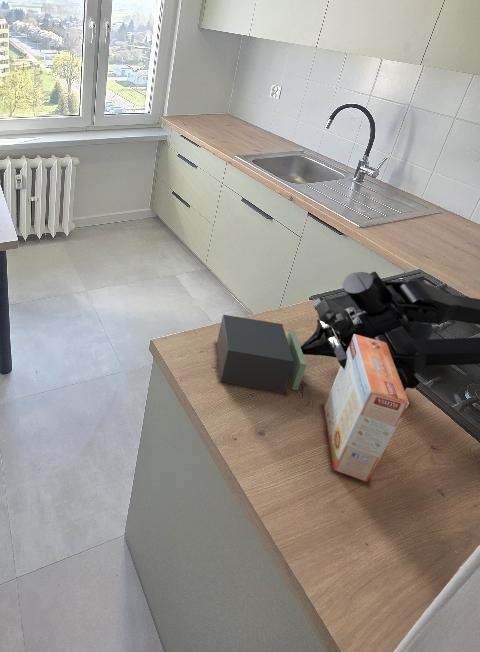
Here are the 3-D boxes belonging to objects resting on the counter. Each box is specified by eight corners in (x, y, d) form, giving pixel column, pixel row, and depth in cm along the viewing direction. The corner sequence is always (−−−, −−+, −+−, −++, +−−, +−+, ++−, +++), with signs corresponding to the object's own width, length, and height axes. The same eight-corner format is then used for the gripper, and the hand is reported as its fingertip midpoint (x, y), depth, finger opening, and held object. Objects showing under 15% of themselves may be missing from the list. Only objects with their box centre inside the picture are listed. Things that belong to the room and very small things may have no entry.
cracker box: (369, 484, 74) (411, 404, 66) (332, 471, 76) (368, 391, 67) (354, 416, 86) (388, 341, 78) (322, 406, 88) (352, 331, 79)
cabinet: (273, 353, 101) (282, 323, 97) (283, 392, 91) (294, 361, 87) (216, 343, 102) (223, 314, 99) (220, 381, 93) (228, 350, 89)
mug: (420, 372, 98) (438, 335, 93) (375, 350, 103) (391, 314, 98) (427, 344, 106) (444, 309, 101) (385, 325, 111) (400, 291, 107)
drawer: (292, 355, 99) (300, 331, 96) (303, 391, 90) (312, 365, 87) (233, 346, 101) (239, 321, 98) (238, 379, 92) (245, 354, 89)
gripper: (333, 268, 93) (270, 299, 99) (367, 329, 76) (289, 361, 82) (360, 301, 95) (297, 330, 101) (399, 368, 78) (321, 397, 84)
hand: (300, 351), depth 92 cm, fingers closed, pressing on drawer
